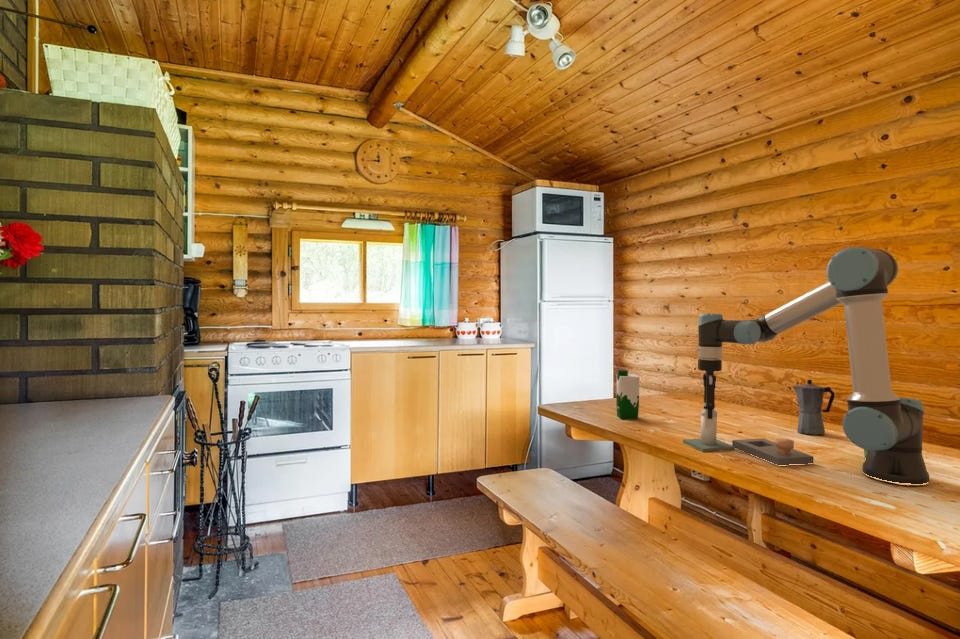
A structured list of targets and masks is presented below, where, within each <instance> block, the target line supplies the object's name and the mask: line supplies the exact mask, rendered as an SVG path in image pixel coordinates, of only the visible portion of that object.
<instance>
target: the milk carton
mask: <svg viewBox="0 0 960 639" xmlns="http://www.w3.org/2000/svg"><path fill="white" fill-rule="evenodd" d="M628 372H629V370H627V369H619V370H617V374H615V375H616V393H615V394H616V395H615V398H616V401H615V403H616V406H615V407H616V416H617V417H618V418H619V419H620V420H638V419H639V411H640V376H639V375H636V374H633V373H632V374H629V373H628Z"/></svg>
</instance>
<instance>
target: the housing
mask: <svg viewBox="0 0 960 639" xmlns="http://www.w3.org/2000/svg"><path fill="white" fill-rule="evenodd" d="M731 445H732V446H734V447H735V448H737V449H739V450H738V451H740V450H741V451H740V452H742V451H744V452H746V453H745V454H747V453H749V454H752V455H754V456H757V457H759V458H762V459H765V460H767V461H769V462H772V463H774V464H777V465H789V464H808V463H813V464H814V460H815V459H814V458H815V457H814V455H811V454H808V453H805V452H803V451H800V450H797V449H795V448H793V449H791V454H788V455H783V454H780V453H778V447H776V446H775V442H774V441H772V440H769V439H767V438H763V437H762V438H748V439H747V438H744V439H732V441H731ZM737 449H736V450H737ZM744 452H743V453H744ZM749 454H748V455H749ZM752 455H751V456H752ZM754 456H753V457H754ZM759 458H758V459H759Z"/></svg>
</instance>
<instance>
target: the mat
mask: <svg viewBox="0 0 960 639" xmlns="http://www.w3.org/2000/svg"><path fill="white" fill-rule="evenodd" d="M682 443H683V444H686V445H687V446H689V447H691V448H694V449H697V450H698V451H700V452H702V453H703V452H704V453H706V451H708V452H718V451H717V450H725V451H733V450H732V449H735V447H734V446H732V444H729V443H728V442H727V443H726V442H724V441H722V440H720V439H717V438H716V445H706V444H702V443H701V438H691V439H690V438H688V439H682ZM735 450H736V449H735Z"/></svg>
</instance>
